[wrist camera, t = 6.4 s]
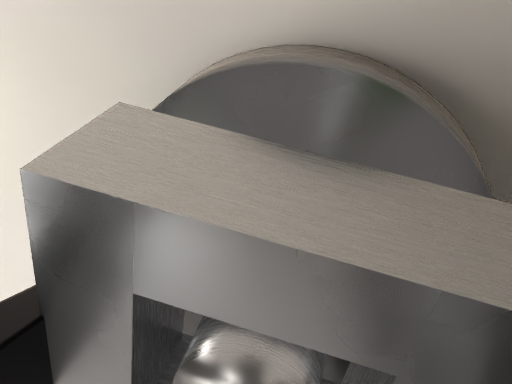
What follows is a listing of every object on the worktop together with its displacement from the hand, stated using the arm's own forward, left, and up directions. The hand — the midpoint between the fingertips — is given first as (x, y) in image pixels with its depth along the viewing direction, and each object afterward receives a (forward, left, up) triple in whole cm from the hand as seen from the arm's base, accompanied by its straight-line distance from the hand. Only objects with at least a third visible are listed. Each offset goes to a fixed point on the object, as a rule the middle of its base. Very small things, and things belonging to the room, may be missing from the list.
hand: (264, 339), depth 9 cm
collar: (0, 0, -1) cm, 1 cm away
